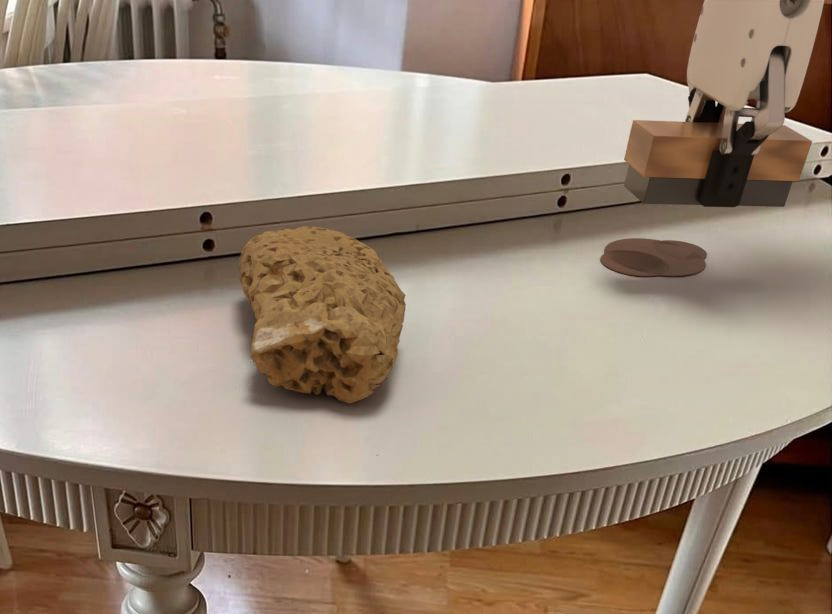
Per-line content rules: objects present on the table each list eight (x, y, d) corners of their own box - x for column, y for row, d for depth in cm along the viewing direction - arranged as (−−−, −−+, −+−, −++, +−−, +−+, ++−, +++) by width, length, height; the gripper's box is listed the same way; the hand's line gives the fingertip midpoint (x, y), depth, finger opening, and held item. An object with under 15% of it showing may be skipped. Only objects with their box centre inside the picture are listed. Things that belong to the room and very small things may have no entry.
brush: (764, 189, 83) (785, 125, 80) (790, 207, 80) (812, 140, 77) (617, 185, 81) (632, 119, 78) (637, 203, 78) (654, 135, 75)
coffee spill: (691, 239, 95) (691, 238, 95) (732, 276, 88) (733, 275, 88) (580, 239, 93) (580, 238, 93) (613, 277, 86) (614, 275, 86)
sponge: (403, 429, 66) (420, 260, 79) (389, 330, 60) (409, 164, 73) (214, 439, 69) (259, 273, 81) (181, 345, 63) (236, 181, 75)
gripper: (899, -57, 63) (797, 233, 75) (774, -88, 76) (703, 164, 88) (790, -64, 62) (704, 231, 74) (681, -94, 75) (623, 161, 86)
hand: (704, 192), depth 80 cm, fingers closed on brush, 4 cm apart
